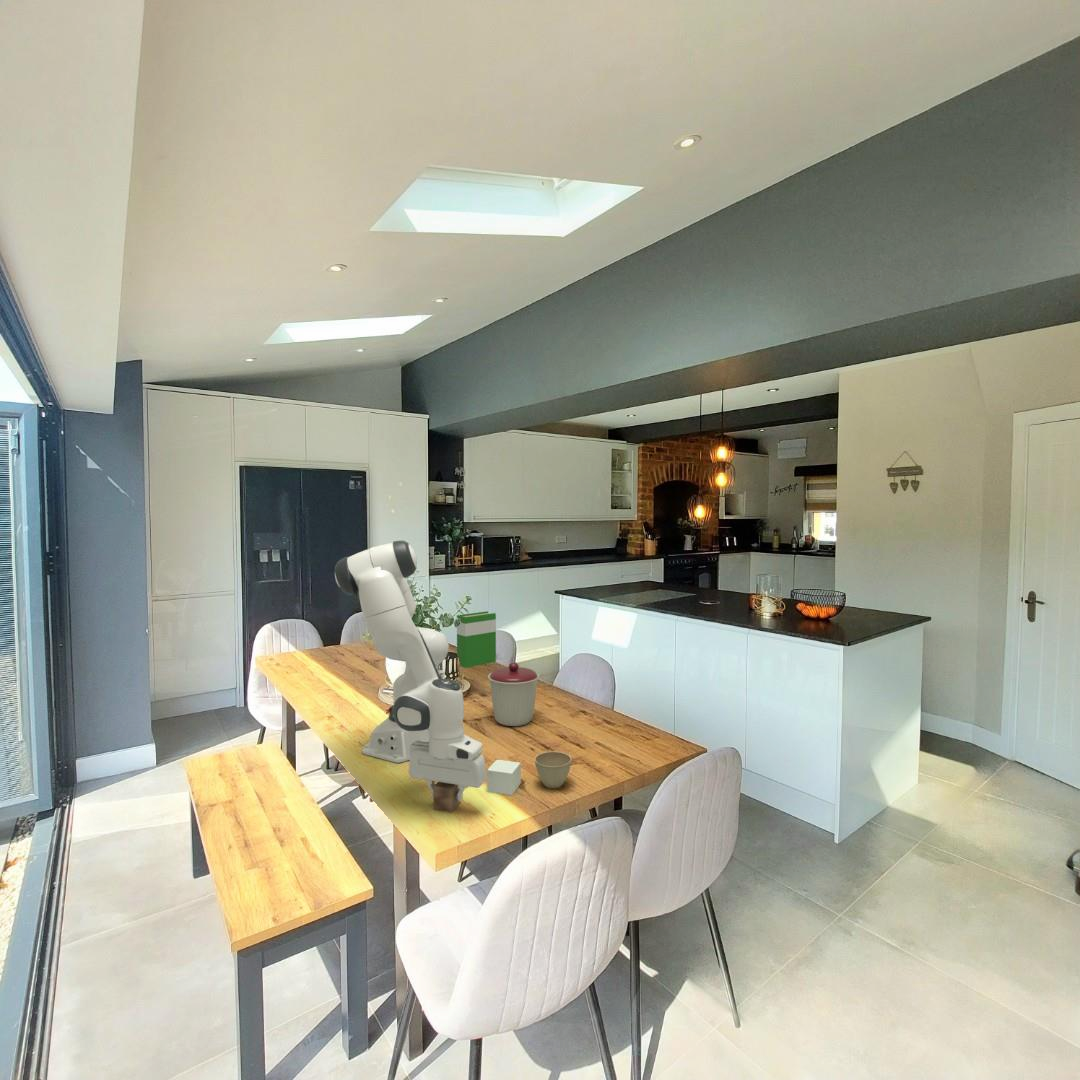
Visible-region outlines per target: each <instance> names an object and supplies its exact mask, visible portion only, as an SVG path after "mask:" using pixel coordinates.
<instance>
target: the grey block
mask: <svg viewBox="0 0 1080 1080" xmlns="http://www.w3.org/2000/svg"><path fill="white" fill-rule="evenodd" d="M521 764H522V763H521V762H518V761H510V760H503V759H502V760H501V759H496V760H495V761H494V762H493V763H492V764H491V765H490V766H489V767H488V769H486V792H488V793H494V794H500V795H507V796H513V795H514V793H515V792H516V791H517V789H518V788H519V786H521V781H522V780H521V779H522V776H521V775H522V774H521V773H522V772H521V770H522V769H521V766H522V765H521Z"/></svg>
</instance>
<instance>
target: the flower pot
mask: <svg viewBox="0 0 1080 1080" xmlns="http://www.w3.org/2000/svg"><path fill="white" fill-rule="evenodd" d="M534 763H535V767H536V768H535V769H536V772H537V774H538V776H539V779H540V780H541V782H542V784H543V785H544V786H545V787H547V788H549V789H558V788H561V787H562V786H563V784H564V783H565V781H566V780H567V778H568V776H569V773H570V770H571V765H572V757H571V756H570V754H568V753H565V752H562V751H557V750H555V751H554V750H553V751H545V752H542V753H539V754H537V755H536V756H535V757H534Z"/></svg>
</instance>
